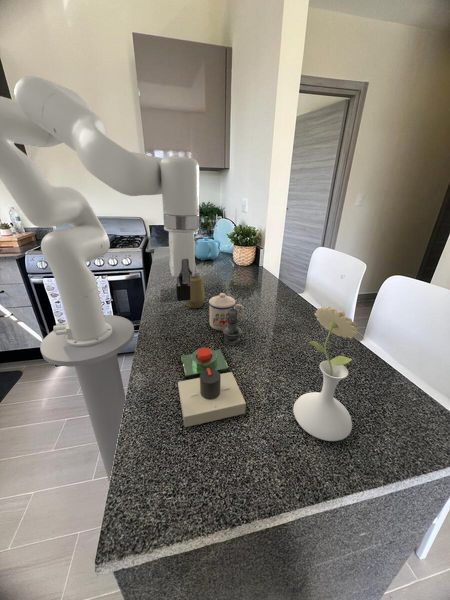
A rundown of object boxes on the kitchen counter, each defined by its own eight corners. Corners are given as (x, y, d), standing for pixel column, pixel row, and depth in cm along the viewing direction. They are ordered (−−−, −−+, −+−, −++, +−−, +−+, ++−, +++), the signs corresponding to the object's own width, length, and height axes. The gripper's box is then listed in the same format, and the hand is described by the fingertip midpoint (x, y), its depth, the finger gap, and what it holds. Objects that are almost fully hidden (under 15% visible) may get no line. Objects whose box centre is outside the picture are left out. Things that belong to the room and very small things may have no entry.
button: (198, 362, 63) (198, 357, 62) (196, 354, 66) (195, 348, 65) (212, 360, 64) (212, 354, 63) (209, 351, 67) (209, 346, 66)
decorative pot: (209, 263, 153) (209, 241, 147) (188, 259, 160) (187, 237, 155) (223, 257, 166) (223, 236, 160) (203, 253, 173) (203, 233, 167)
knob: (222, 397, 54) (222, 380, 52) (202, 401, 52) (201, 384, 50) (217, 382, 57) (217, 366, 55) (198, 386, 56) (198, 369, 54)
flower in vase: (363, 436, 49) (404, 327, 39) (315, 454, 46) (345, 340, 35) (319, 389, 60) (342, 294, 50) (278, 401, 57) (293, 302, 46)
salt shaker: (227, 333, 82) (228, 300, 77) (244, 338, 80) (246, 304, 74) (219, 342, 77) (219, 307, 72) (236, 347, 75) (237, 312, 70)
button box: (185, 382, 62) (184, 369, 60) (181, 362, 69) (180, 350, 67) (228, 374, 64) (228, 362, 63) (220, 355, 71) (220, 344, 70)
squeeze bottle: (199, 299, 105) (198, 258, 97) (208, 307, 99) (208, 263, 91) (181, 303, 101) (179, 260, 94) (189, 312, 95) (187, 266, 87)
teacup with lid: (210, 332, 82) (210, 300, 77) (207, 319, 90) (207, 289, 85) (246, 329, 84) (248, 298, 79) (239, 316, 92) (241, 287, 88)
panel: (184, 427, 50) (183, 416, 49) (178, 391, 59) (177, 381, 58) (245, 413, 54) (246, 402, 52) (231, 381, 62) (231, 371, 61)
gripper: (161, 217, 59) (166, 288, 67) (166, 228, 47) (170, 315, 54) (193, 217, 61) (193, 286, 69) (205, 228, 49) (204, 312, 56)
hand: (183, 299), depth 62 cm, fingers closed
